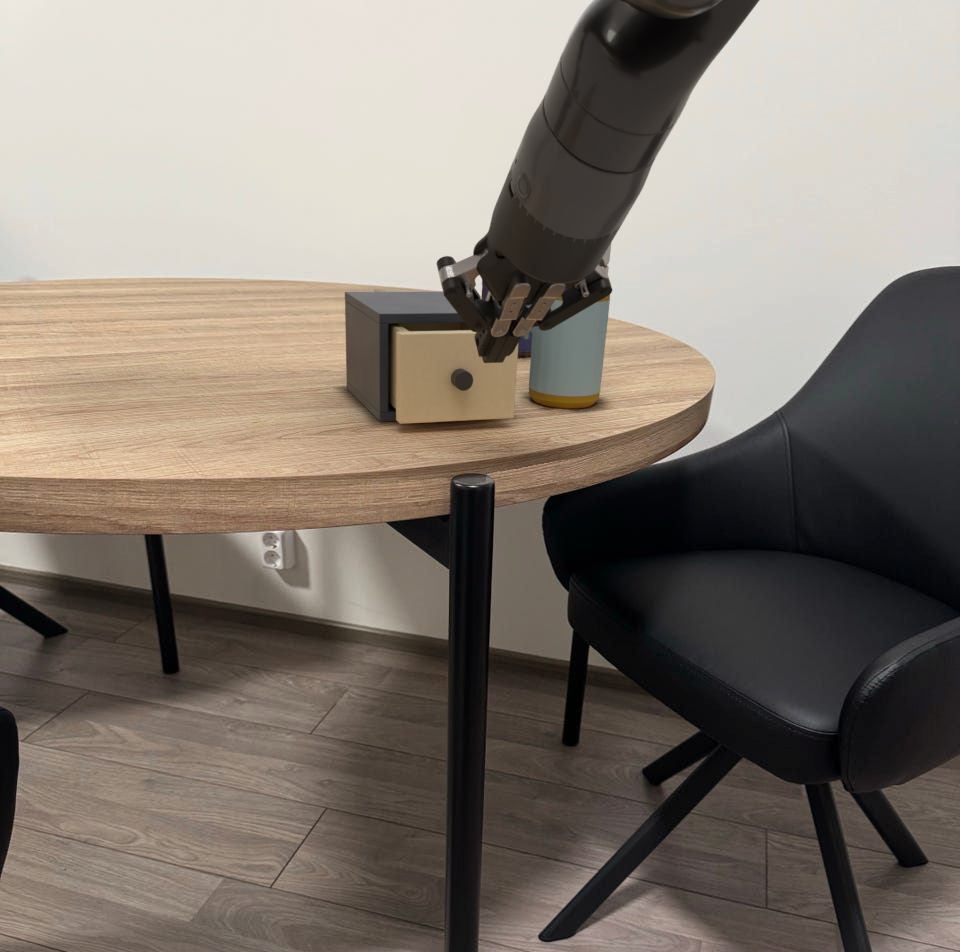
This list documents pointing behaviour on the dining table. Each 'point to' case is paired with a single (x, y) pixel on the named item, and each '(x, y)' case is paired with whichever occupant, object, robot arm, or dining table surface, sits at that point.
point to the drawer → (446, 375)
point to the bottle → (570, 357)
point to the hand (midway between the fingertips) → (489, 352)
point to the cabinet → (383, 339)
